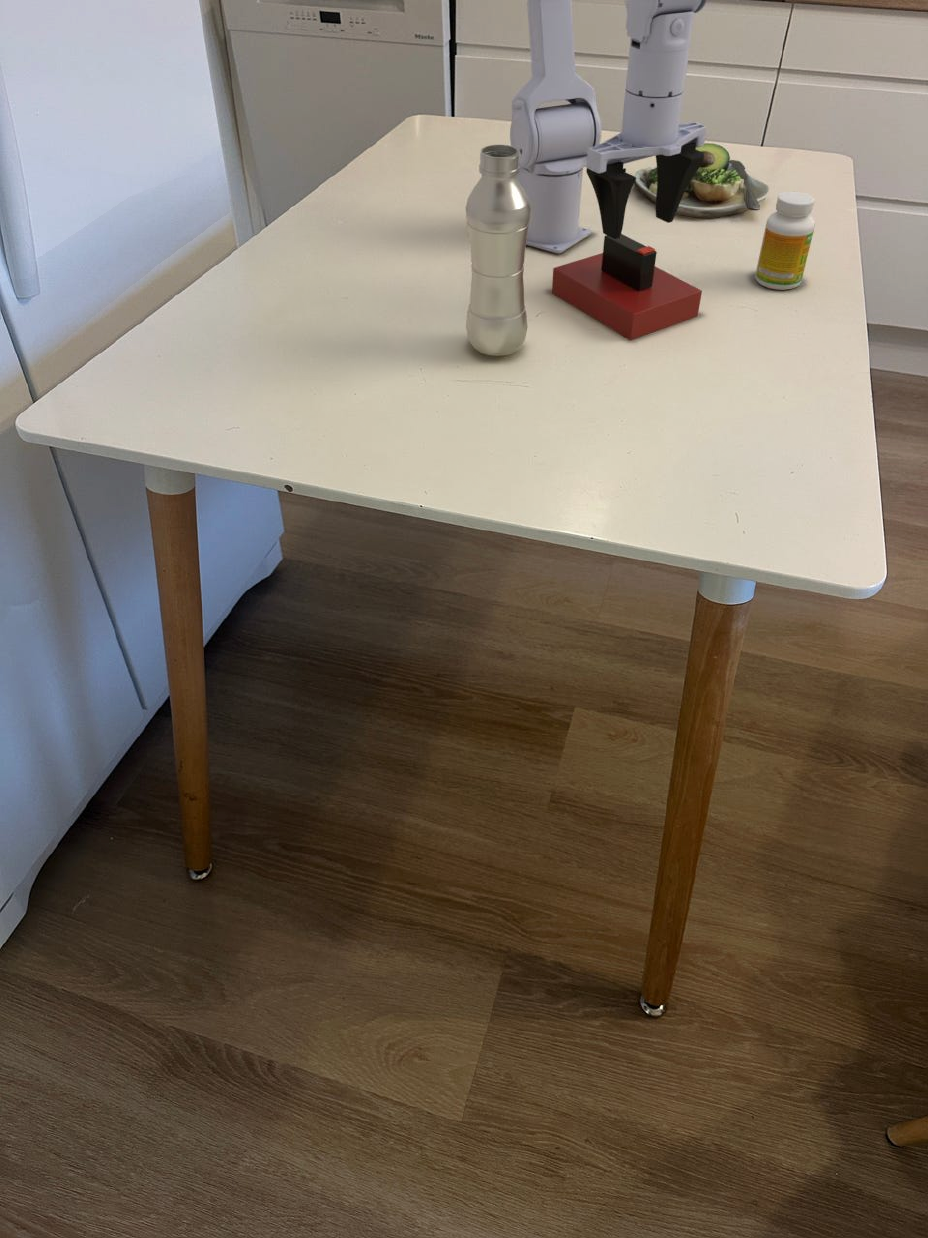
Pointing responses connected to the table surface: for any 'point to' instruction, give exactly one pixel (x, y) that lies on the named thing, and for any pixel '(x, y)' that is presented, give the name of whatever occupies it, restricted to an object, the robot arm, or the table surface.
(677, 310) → the red rectangular block
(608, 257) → the block
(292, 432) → the table surface
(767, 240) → the supplement bottle
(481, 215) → the metal water bottle
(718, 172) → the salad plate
